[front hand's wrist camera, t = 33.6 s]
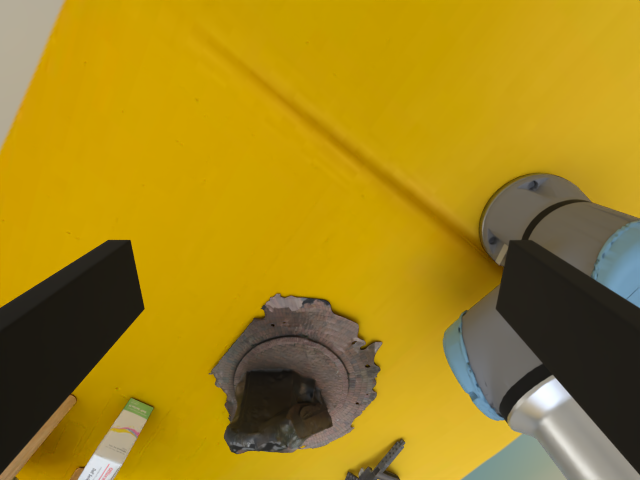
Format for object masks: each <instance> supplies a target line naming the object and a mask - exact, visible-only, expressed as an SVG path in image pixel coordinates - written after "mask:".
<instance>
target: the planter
mask: <svg viewBox="0 0 640 480" xmlns="http://www.w3.org/2000/svg"><path fill="white" fill-rule="evenodd" d="M75 403H76V398H75V397H74V396H72V395H69V397H68V398H67V399H66V400H65V401H64V402H63V403H62V405H61V406H60V407H59V408H58V409H57V410H56V412H55V413H54V414H53V415H52V416H51V417H50V418H49V420H48V421H47V422H46V423H45V424H44V425H43V426H42V428H41V429H40V430H39V431H38V432H37V433H36V435H35V436H34V437H33V438H32V439H31V440H30V441H29V443H28V444H27V445H26V446H25V447H24V448H23V450H22V451H21V452H20V453H19V454H18V455H17V456H16V458H15V459H14V460H13V461H12V462H11V463H10V465H9V466H8V467H7V468H6V469H5V470H4V471H3V473H2V474H1V475H0V480H18V479H17V478H16V477H15V476H16V474H17V473H18V472H19V471H20V470H21V468H22V467H23V466H24V465H25V464H26V462H27V461H28V460H29V459H30V457H31V456H32V455H33V454H34V453H35V451H36V450H37V449H38V448H39V447H40V445H41V444H42V443H43V442H44V441H45V439H46V438H47V437H48V436H49V434H50V433H51V432H52V431H53V430H54V428H55V427H56V426H57V425H58V424H59V422H60V421H61V420H62V419H63V418H64V416H65V415H66V414H67V413H68V411H69V410H70V409H71V408H72V407H73V405H74V404H75ZM83 470H84V468H78V469H76V471H75V472H74V474H73V475H72V477H71V478H70V480H78V478H79V476H80V475H81V473H82V471H83Z"/></svg>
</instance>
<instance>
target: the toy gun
mask: <svg viewBox="0 0 640 480" xmlns="http://www.w3.org/2000/svg"><path fill="white" fill-rule="evenodd" d="M404 444H405V442H404V440H402V439H401V440H400V442H399V441H397V442H396V444H395V445H394V446H393V447H392V448H391V450H390V451H389V452H388V453H387V454H386V456H385V457H384V458H383V459H382V460H381V462H380V463H379V464H378V465H377V466H376V467H375V469H374V470H372V468H370V467H368V468H367V469H366V470H365V469H364V468H361V470H360V472H359V478H358V477H356V476H355V475H354V474H352V473H350V472H348V474H347V476H346V479H345V480H377V479H379V480H400V479H399V477H398V476H397V475H395V474H393V473H390V472H388V471H385V469H386V468H387V467H388V466H389V465H390V464H391V462H392V461H393V460H394V459H395V458H396V456H397V455H398V454H399V453H400V452H401V450H402V449H403V448H404V446H403V445H404Z"/></svg>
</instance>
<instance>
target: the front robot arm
mask: <svg viewBox="0 0 640 480" xmlns="http://www.w3.org/2000/svg"><path fill="white" fill-rule="evenodd" d="M479 235H480V240H481V243H482V246H483V248H484V250H485V251H486V252H487V254H488V255H489V256H490V257H491V258H492V259H494V260H495V262H496V263H497V264H498V265H502V266H504V270H503V275H502V279H501V284H500V285H498V286H497V287H496V288H495V289H493V290H492V291H491V292H490V293H489V294H487V295H486V296H485V297H484V298H483V299H481V300H480V301H479V302H478V303H476V304H475V305H474V306H473V307H472V308H470V309H469V310H466V311H464V312H463V313H462V314H461V315H460V317H459V319H457V320H456V321H455V322H454V323H453V324H452V325H451V326H450V327H449V328H448V329H447V330H446V331H445V333H444V338H443V348H444V352H445V355H446V358H447V361H448V363H449V365H450V367H451V369H452V371H453V373H454V375H455V377H456V378H457V380H458V382H459V383H460V385H461V387H462V388H463V390H464V391H465V392H466V393H468V394H469V395H470V397H471V399H472V401H473V403H474V404H475V405H476V406H477V407H478V409H479V410H480V411H481V412H483V413H484V414H485V415H486V416H487V417H489V418H491V419H493V420H496V421H499V420H505V421H506V422H507V423H508V425H509V426H510V428H511V429H512V430H514V431H516V432H519V433H523V434H526V435H529V436H532V437H534V438H536V439H537V440H538V441H539V443H540V444H541V445H542V447H543V448H544V449H545V451H546V452H547V453H548V455H549V456H550V457H551V459H552V460H553V461H554V463H555V464H556V465H557V467H558V468H559V469H560V471H561V472H562V474H563V475H564V476H565V477H566V479H567V480H640V218H637V217H634V216H631V215H628V214H625V213H622V212H619V211H616V210H613V209H610V208H607V207H604V206H601V205H598V204H595V203H592V202H591V201H590V200H589V199H588V198H587V197H586V195H585V194H584V193H583V192H582V191H581V190H580V189H579V188H578V187H577V186H576V185H574V184H573V183H571V182H570V181H568V180H566V179H564V178H562V177H559V176H556V175H552V174H547V173H533V174H527V175H524V176H521V177H518V178H516V179H514V180H512V181H510V182H508V183H507V184H505V185H504V186H502V187H501V188H500V189H499V190H498V191H497V192H496V193H495V194H494V195H493V196H492V197H491V198H490V200H489V201H488V203H487V204H486V206H485V208H484V210H483V213H482V215H481V219H480V224H479ZM143 310H144V304H143V299H142V294H141V289H140V284H139V279H138V275H137V270H136V265H135V260H134V255H133V250H132V245H131V241H130V240H108V241H106V242H104V243H103V244H101V245H100V246H98V247H96V248H95V249H93V250H92V251H90V252H88V253H87V254H85V255H84V256H82V257H80V258H79V259H77V260H76V261H74V262H73V263H71V264H69V265H68V266H66V267H65V268H63V269H61V270H60V271H58V272H57V273H55V274H53V275H52V276H50V277H49V278H47V279H46V280H44V281H42V282H41V283H39V284H38V285H36V286H34V287H33V288H31V289H30V290H28V291H26V292H25V293H23V294H22V295H20V296H18V297H17V298H15V299H14V300H12V301H11V302H9V303H7V304H6V305H4V306H3V307H1V308H0V475H1V474H2V473H3V471H4V470H5V469H6V468H7V467H8V466H9V465H10V463H11V462H12V461H13V460H14V459H15V458H16V456H17V455H18V454H19V453H20V452H21V451H22V450H23V448H24V447H25V446H26V445H27V444H28V443H29V441H30V440H31V439H32V438H33V437H34V436H35V435H36V433H37V432H38V431H39V430H40V429H41V428H42V426H43V425H44V424H45V423H46V422H47V421H48V420H49V418H50V417H51V416H52V415H53V414H54V413H55V412H56V410H57V409H58V408H59V407H60V406H61V405H62V403H63V402H64V401H65V400H66V399H67V398H68V397H69V395H70V394H71V393H72V392H73V391H74V390H75V388H76V387H77V386H78V385H79V384H80V383H81V382H82V380H83V379H84V378H85V377H86V376H87V375H88V374H89V372H90V371H91V370H92V369H93V368H94V367H95V365H96V364H97V363H98V362H99V361H100V360H101V359H102V357H103V356H104V355H105V354H106V353H107V352H108V350H109V349H110V348H111V347H112V346H113V345H114V344H115V342H116V341H117V340H118V339H119V338H120V337H121V335H122V334H123V333H124V332H125V331H126V330H127V329H128V327H129V326H130V325H131V324H132V323H133V322H134V321H135V319H136V318H137V317H138V316H139V315H140V314H141V312H142V311H143Z"/></svg>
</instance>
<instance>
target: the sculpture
mask: <svg viewBox="0 0 640 480" xmlns="http://www.w3.org/2000/svg"><path fill="white" fill-rule="evenodd" d="M261 309H263V310H264V311H265V318H263V319H257V318H254V320H253V322H252V323H250V325H249V326H248V327H247V329H246V330H245V331H244V332H243V334H241V336H240V337H239V338H238V339H237V340H236V342H235V343H234V344H233V345H232V346H231V348H230V349H229V350H228V352H226V354H225V355H224V356H223V357H222V359H221V360H220V361H219V364H218V365H216V367H214V368H213V369H212V373H209V374H214V376H215V378H216V382H215V385H216V386H217V387H220V388H222V390H223V391H224V392H225V393H226V394H227V402H226V403H225V407H226V409H227V410H228V412H229V414H230V415H231V416H230V415H229V418H230V419H229V418H228V419H229V420H230V424H229V425H228V426H227V428H226V430H225V434H224V439H225V441H226V442H227V444H228V446H229V448H230V450H231V452H233V453H236V454H240V453H244V452H246V451H266V452H280V453H291V452H294V451H295V450H297V449H306V448H317V447H321V446H324V445H327V444H328V443H330V442H331V441H334V440H336V439H338V438H340V437H342V436H344V435H345V434H347V433H349V432H350V431H351V430H352V429H354V428H352V427H350V426H351V424H352V422H353V420H354V419H355V418H356V417H357V416H359V415H360V414H362V411H363V410H365V408H366V407H367V406H368V405H369V404H370V403H371V401H373V399H375V398H376V395H377V393H376V392H374V391H373V390H372V389H373V387H374V386H375V385H376V380H375V377H377V373H378V372H379V371H380V368H379V367H378V366H376V365H375V364H374V356H375V354H376V352H377V350H378V349H379V348H380V346H381V345H382V342H375V343H372V344H371V345H369V346H368V347H367V348H366V349H365V350H360V347H361V346H363V345H365V344H366V342H365V341H364V340H361V339H359V338H358V337H357V335H358V329H359V326H358V324H357V323H355V322H353V321H351V320H348V319H346V318H343V317H341V316H338V315H336V314H334V313H333V312H332V310H331V306H330V303H329V302H327V301H325V300H321V299H310V298H296V297H293V296H289V297H287V298H283V297H280V294H276V296H275V297H273V298H271V297H270V301H268V302H267V303H266V305H264V306H263V307H262V308H261ZM283 322H286V323H283ZM270 324H274V325H275V326H274V327H273V326H271V325H270ZM354 341H357V342H355V344H353V345H352V342H354ZM367 364H368V365H370V367H369V368H366V367H365V366H366V365H367ZM218 377H219V378H218ZM219 383H221V384H219ZM366 394H368V395H366ZM356 402H358V403H359V405H357V404H356ZM302 445H306V447H304V448H300V447H301V446H302Z"/></svg>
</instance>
